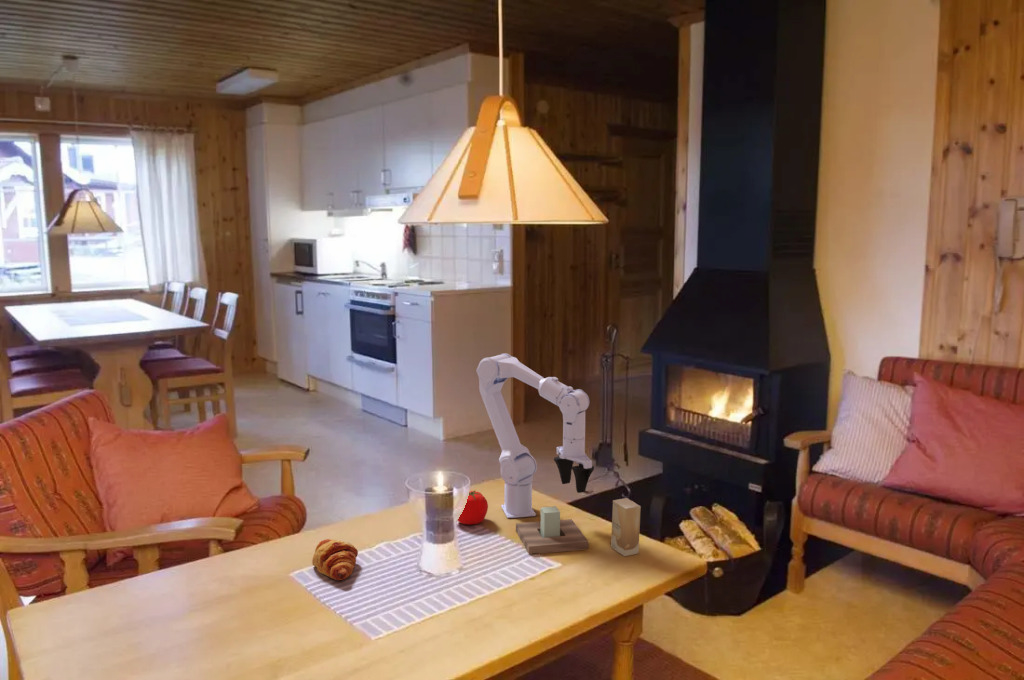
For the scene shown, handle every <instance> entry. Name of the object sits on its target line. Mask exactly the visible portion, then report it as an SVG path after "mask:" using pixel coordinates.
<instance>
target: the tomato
mask: <svg viewBox="0 0 1024 680" xmlns="http://www.w3.org/2000/svg"><path fill="white" fill-rule="evenodd" d="M488 509H489V503H488V500H487V498H486V497H485V496H484V495H483V494H482V493H481V492H479V491H476V490H470V491H469V496H468V499H467V503H466V505H465V508H464V510H463V512H462V514H461V515H460V517H459V519H458V521H457V522H459V523H461V524H463V525H469V526H470V525H471V526H472V525H478V524H480V523H482V522H483V521H484V519H485V518H486V516H487V514H488Z"/></svg>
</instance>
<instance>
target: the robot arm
mask: <svg viewBox="0 0 1024 680" xmlns="http://www.w3.org/2000/svg"><path fill="white" fill-rule="evenodd" d="M475 372H476V374H477V377H478V382H479V383H478V386H479V391H478V392H479V394H480V397H481V399H482V402H483V405H484V406H485V409H486V412H487V415H488V417H489V421H490V422H491V426H492V428H493V431H494V433H495V436H496V439H497V441H498V444H499V447H500V450H501V453H500V456H499V458H498V462H499V466H500V476H501V478H502V479H503V481H504V486H503V487H504V488H503V489H504V493H503V495H504V497H503V498H504V500H503V501H504V502H503V504H501V507H500V508H501V510H502V511H503V513H504V514H505V517H507V519H515V518H527V517H529V518H530V517H536V516H537V513H536V512H535V510H534V509H533V478H534V477H533V476H534V474H535V473H536V472H537V469H538V464H537V461H536V458H535V457H534V456H533V455H532V454H531V452H530V450H529V449H528V447H526V446H525V445H523V444H521V441H520V438H519V436H518V433H517V431H516V428H515V425H514V423H513V420H512V418H511V414H510V412H509V410H508V407H507V404H506V402H505V399H504V397H503V394H502V388H503V386H504V384H505V382H506V381H508V379H509V378H515V379H516V380H519V381H521V382H523V383H524V384H527V385H528V386H531V387H533V388H535V389H536V390H537V391H538V394H539V396H540V397H542V398H543V399H545V400H547V401H548V402H550V403H552V404H554V405H555V406H557V407H559V411H560V412H561V413H562V420H563V421H562V422H563V423H562V446H561V445H560V446H556V455H557V456H554V458H553V461H554V463H555V464H556V466H557V469H558V472H559V477H560V481H561V484H562V485H567V484H570V483H571V480H572V479H571V478H572V473H573V474H574V479H575V490H576V493H577V494H580V493H585V491H586V489H587V486H588V482H589V479H590V477H591V475H592V473H593V472H594V470H595V465H593V461H592V459H590V458H589V457H588V455H587V453H586V452H585V451H586V410H587V409H588V408H589V406H590V397H589V395H588V394H587V393H586V392H585V391H584V390H583V389H580V388H578V389H574V387H572V386H570V385H569V386H568V385H566V384H564V383H563V382H560V381H559V378H558V377H556V376H548V377H545V378H544V376H542V375H540V374H538V373H537V372H535V371H534V370H532V369H531V368H529V367H528V366H526V365H525V364H523V363H522V362H521V361H519V360H518V358H517V357H516V356H512V355H511V354H509V353H506V352H505V353H504V352H503V353H500V354H498V355H495V356H490V357H484V358H482V359H481V360H480V362H479V363H478V366H477V367H476V370H475ZM574 463H577V464H578V465H575V466H573V465H574Z"/></svg>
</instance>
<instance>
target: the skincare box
mask: <svg viewBox="0 0 1024 680" xmlns="http://www.w3.org/2000/svg"><path fill="white" fill-rule="evenodd" d="M641 509H642V507H641V505H639V504H638V503H636V502H634V501H633V500H631V499H629V498H628V497H625V498H619V499H613V500H612V514H611V515H612V516H611V521H612V522H611V537H610V538H611V539H610V547H611V548H612V549H614V550H615V551H616V552H617V553H619V554H620V555H622V556H624V557H627V556H632V555H637V554H639V551H640V549H639V548H640V526H641Z"/></svg>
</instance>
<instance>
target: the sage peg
mask: <svg viewBox="0 0 1024 680" xmlns="http://www.w3.org/2000/svg"><path fill="white" fill-rule="evenodd" d="M560 520H561V511H560V509H559V508H558V507H557V506H556V505H554V506H543V507H542V506H541V507H540V521H541V536H542V538H546V537H558V536H560Z"/></svg>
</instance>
